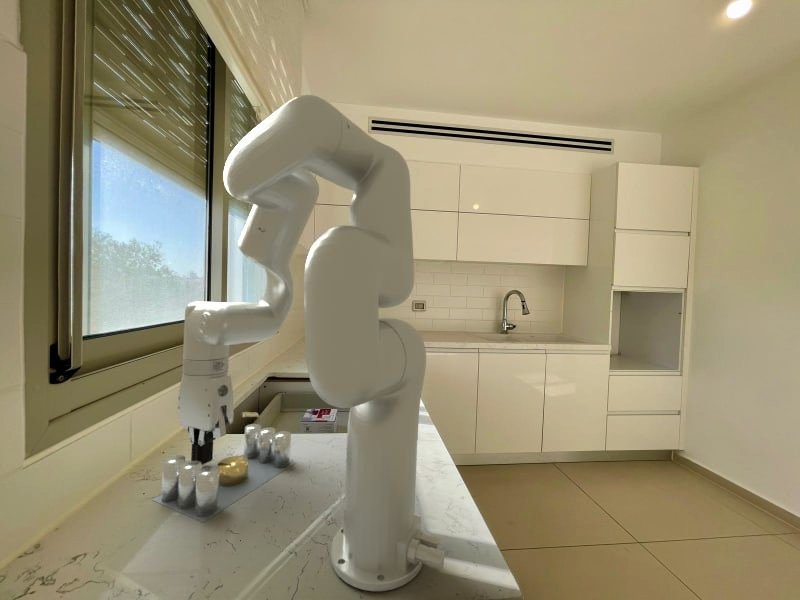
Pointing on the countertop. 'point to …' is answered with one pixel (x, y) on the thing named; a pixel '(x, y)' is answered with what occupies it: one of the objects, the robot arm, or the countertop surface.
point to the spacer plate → (234, 488)
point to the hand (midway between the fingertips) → (201, 462)
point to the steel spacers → (203, 484)
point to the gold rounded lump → (233, 471)
